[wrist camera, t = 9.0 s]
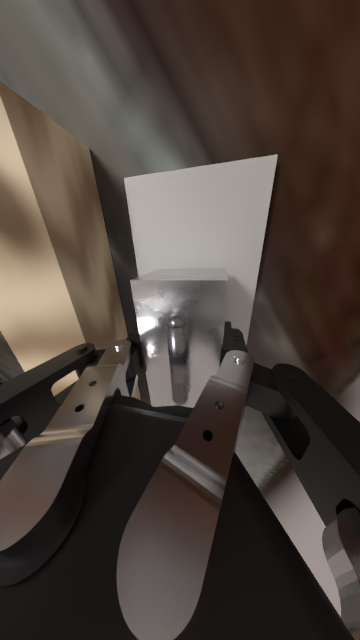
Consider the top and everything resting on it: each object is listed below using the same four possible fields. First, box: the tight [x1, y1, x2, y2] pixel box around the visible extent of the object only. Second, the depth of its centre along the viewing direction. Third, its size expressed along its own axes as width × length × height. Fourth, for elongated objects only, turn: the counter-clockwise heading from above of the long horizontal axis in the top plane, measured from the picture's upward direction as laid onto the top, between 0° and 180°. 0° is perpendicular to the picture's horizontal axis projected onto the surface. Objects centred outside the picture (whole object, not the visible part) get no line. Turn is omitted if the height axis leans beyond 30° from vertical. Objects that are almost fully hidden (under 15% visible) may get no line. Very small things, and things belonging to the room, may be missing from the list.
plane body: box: [0, 81, 141, 400], centre depth 12 cm, size 24×8×10 cm, turn 2°
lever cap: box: [130, 268, 229, 408], centre depth 10 cm, size 9×4×5 cm, turn 2°
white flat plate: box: [124, 154, 278, 345], centre depth 14 cm, size 20×9×1 cm, turn 2°
